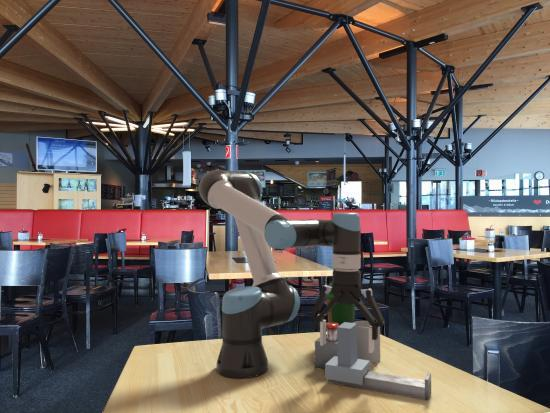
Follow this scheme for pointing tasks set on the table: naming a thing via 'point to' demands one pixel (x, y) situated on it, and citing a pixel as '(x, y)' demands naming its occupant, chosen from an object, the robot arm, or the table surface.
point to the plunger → (332, 331)
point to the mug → (367, 343)
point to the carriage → (347, 357)
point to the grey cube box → (324, 352)
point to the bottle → (340, 311)
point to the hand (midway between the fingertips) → (346, 347)
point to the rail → (393, 385)
